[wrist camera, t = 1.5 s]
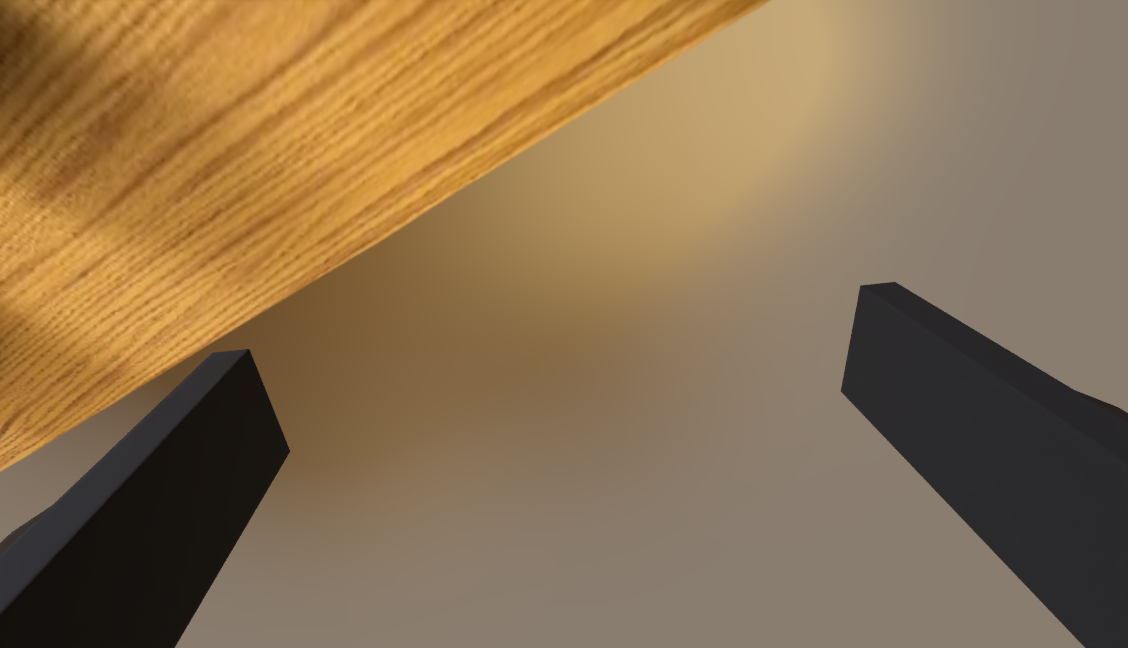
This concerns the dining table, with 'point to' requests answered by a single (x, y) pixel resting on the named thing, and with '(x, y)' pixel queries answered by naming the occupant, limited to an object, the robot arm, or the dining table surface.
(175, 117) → the dining table surface
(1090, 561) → the robot arm
